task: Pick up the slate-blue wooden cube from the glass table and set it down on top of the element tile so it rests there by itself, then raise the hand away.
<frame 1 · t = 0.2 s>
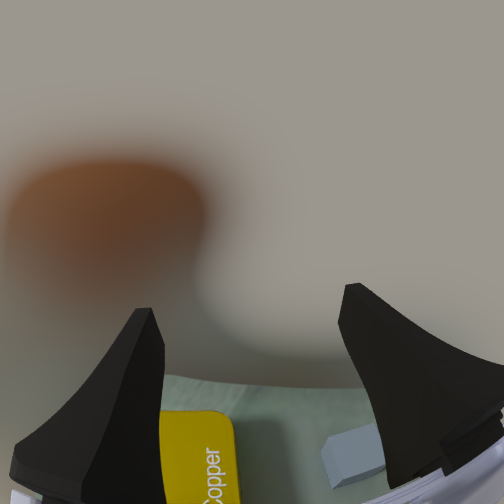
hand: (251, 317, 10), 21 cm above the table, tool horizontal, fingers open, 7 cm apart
element tile: (163, 488, 19), on the table
slate-blue cube: (347, 464, 21), on the table
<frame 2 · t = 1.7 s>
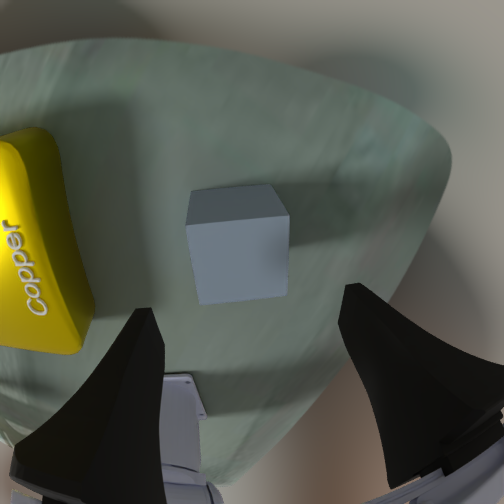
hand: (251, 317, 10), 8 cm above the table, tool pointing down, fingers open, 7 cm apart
element tile: (2, 237, 15), on the table
slate-blue cube: (233, 222, 17), on the table
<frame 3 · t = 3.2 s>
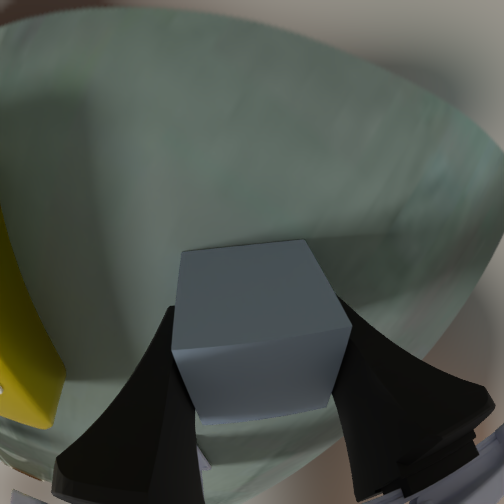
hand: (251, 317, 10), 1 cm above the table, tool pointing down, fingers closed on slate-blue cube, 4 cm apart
slate-blue cube: (246, 293, 12), on the table, touching gripper
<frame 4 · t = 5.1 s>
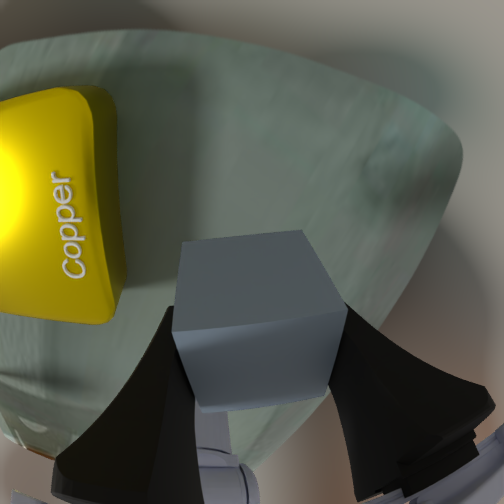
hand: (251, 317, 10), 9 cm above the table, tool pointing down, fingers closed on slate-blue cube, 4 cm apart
element tile: (32, 199, 16), on the table
slate-blue cube: (245, 283, 12), point 7 cm above the table, touching gripper
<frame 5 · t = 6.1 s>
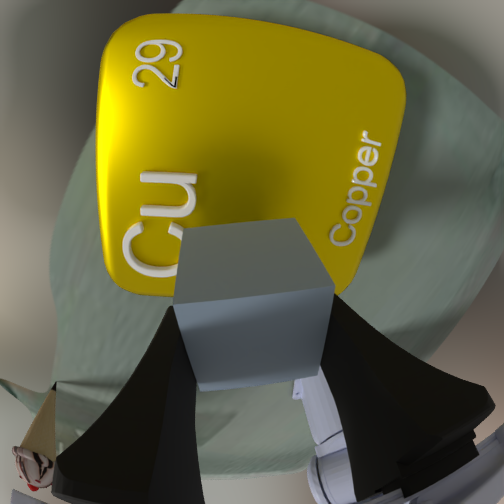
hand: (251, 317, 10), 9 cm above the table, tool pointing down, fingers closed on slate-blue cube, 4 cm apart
element tile: (241, 156, 17), on the table
slate-blue cube: (242, 269, 13), point 6 cm above the table, touching gripper
ice cream cone: (56, 379, 26), on the table
when the fingers open (8 cm above the table, at t = 6.8 s): slate-blue cube stays where it is, resting on element tile.
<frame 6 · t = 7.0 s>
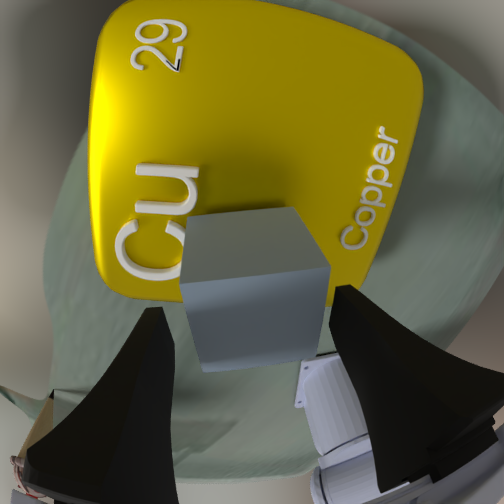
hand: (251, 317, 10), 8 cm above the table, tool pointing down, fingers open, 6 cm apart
element tile: (245, 150, 16), on the table, touching slate-blue cube
slate-blue cube: (243, 256, 13), point 4 cm above the table, touching element tile
ice cream cone: (53, 387, 25), on the table
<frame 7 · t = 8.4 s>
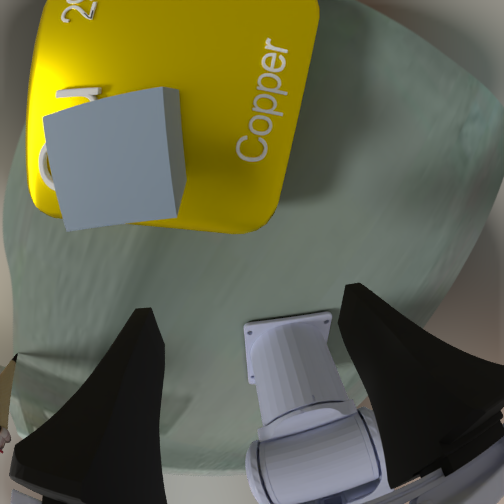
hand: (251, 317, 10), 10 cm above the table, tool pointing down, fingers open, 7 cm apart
element tile: (164, 88, 15), on the table
slate-blue cube: (136, 142, 12), point 4 cm above the table
ice cream cone: (17, 351, 24), on the table
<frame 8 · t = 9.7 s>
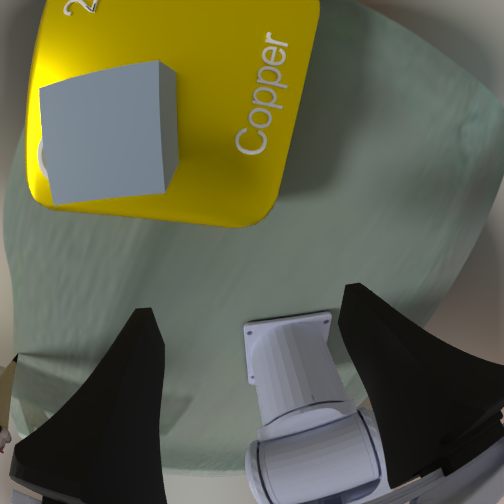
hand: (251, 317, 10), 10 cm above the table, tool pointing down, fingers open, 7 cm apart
element tile: (164, 83, 15), on the table, touching slate-blue cube
slate-blue cube: (130, 122, 12), point 4 cm above the table, touching element tile
ice cream cone: (18, 352, 24), on the table
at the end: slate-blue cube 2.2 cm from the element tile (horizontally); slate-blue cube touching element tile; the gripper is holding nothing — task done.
